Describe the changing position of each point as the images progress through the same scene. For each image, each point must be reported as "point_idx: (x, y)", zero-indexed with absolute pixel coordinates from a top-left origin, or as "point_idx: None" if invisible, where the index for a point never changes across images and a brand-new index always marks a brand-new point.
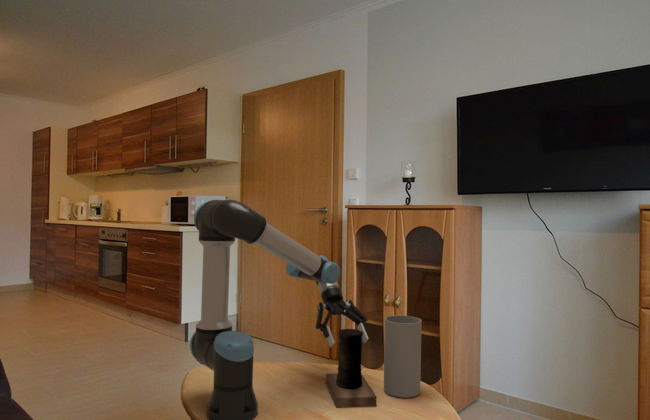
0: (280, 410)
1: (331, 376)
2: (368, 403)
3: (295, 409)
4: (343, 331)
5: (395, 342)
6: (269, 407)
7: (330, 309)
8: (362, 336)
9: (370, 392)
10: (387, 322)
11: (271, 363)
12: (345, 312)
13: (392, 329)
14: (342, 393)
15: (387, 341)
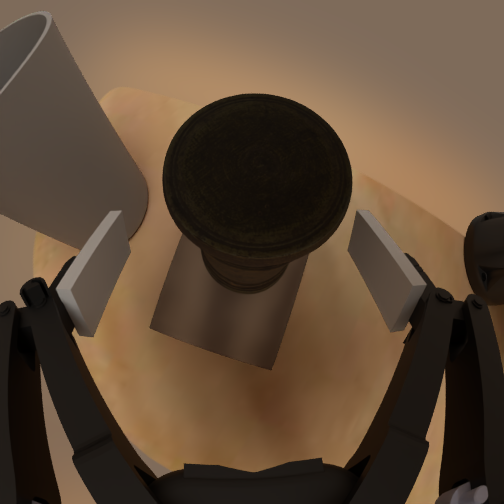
0: (432, 233)
1: (265, 340)
2: None
3: (407, 223)
4: (315, 187)
5: (85, 80)
6: (445, 257)
7: (423, 457)
8: (116, 263)
9: None
10: (39, 59)
11: None
12: (138, 464)
13: (64, 51)
14: None
15: (83, 118)
